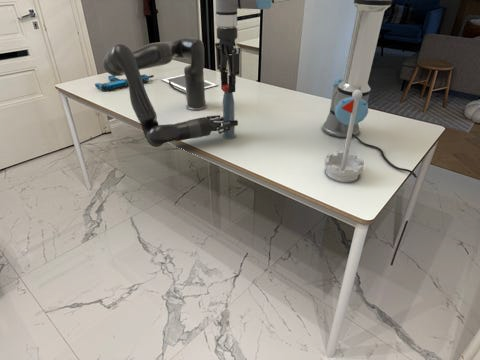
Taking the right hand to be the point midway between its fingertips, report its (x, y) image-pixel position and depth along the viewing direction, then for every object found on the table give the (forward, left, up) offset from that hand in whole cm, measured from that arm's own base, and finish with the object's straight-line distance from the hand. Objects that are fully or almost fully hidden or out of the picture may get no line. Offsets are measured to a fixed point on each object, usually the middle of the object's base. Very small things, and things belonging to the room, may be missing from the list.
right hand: (228, 90), depth 135 cm
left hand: (0, -3, -13) cm, 14 cm away
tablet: (+79, -8, -20) cm, 82 cm away
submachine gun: (+97, +28, -20) cm, 103 cm away
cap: (0, 0, +2) cm, 2 cm away
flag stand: (-45, -24, -20) cm, 55 cm away
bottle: (0, 0, -20) cm, 20 cm away
